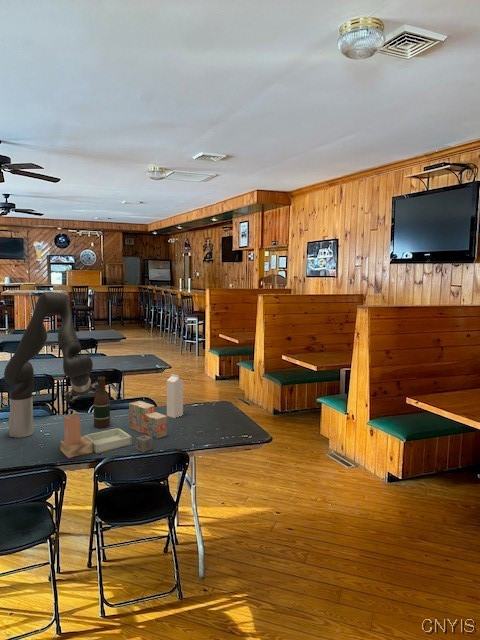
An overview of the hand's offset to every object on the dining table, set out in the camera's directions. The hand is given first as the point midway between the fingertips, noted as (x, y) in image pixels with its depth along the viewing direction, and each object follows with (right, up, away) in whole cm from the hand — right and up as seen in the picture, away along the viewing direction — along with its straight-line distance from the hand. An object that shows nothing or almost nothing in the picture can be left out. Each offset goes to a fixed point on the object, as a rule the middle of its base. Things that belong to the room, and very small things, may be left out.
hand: (83, 397), depth 201 cm
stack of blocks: (+25, -19, +15) cm, 35 cm away
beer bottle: (+2, -18, +22) cm, 28 cm away
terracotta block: (-1, -17, -11) cm, 20 cm away
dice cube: (+28, -21, -6) cm, 36 cm away
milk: (+35, -16, +39) cm, 54 cm away
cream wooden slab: (+1, -21, -10) cm, 23 cm away
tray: (+11, -20, -1) cm, 23 cm away
